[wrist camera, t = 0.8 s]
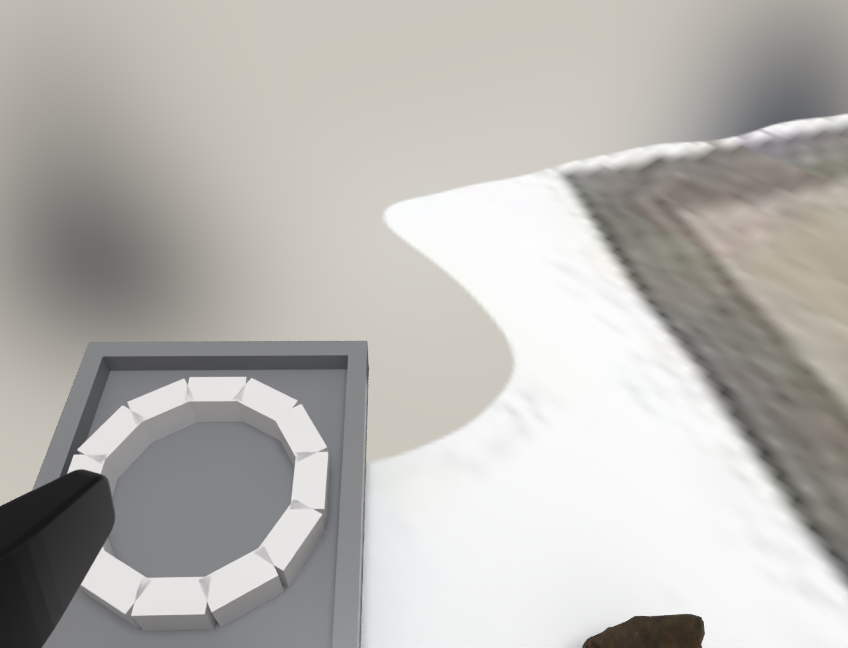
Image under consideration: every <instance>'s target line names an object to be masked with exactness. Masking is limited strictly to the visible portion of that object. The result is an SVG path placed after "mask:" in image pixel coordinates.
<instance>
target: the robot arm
mask: <svg viewBox="0 0 848 648" xmlns="http://www.w3.org/2000/svg"><path fill="white" fill-rule="evenodd" d="M114 523H115V508H114V503H113V498H112V493H111V488H110V483H109V480H108V478H107V477H106V476H105V475H102V474H99V473H95V472H92V471H88V470H83V469H79V470H75V471H72V472H70V473H68V474H66V475H64V476H61V477H59V478H57V479H55V480H53V481H51V482H49V483H47V484H45V485H43V486H41V487H39V488H37V489H35V490H33V491H31V492H29V493H26V494H24V495H22V496H20V497H18V498H16V499H14V500H12V501H10V502H8V503H6V504H4V505H2V506H0V648H42V647H43V646H44V644H45V643H46V641H47V640H48V638H49V637H50V635H51V634H52V632H53V631H54V629H55V628H56V626H57V624H58V623H59V621H60V620H61V618H62V616H63V615H64V613H65V611H66V610H67V608H68V606H69V604H70V603H71V601H72V599H73V597H74V596H75V594H76V592H77V590H78V589H79V587H80V585H81V583H82V582H83V580H84V578H85V577H86V575H87V573H88V571H89V570H90V568H91V566H92V564H93V563H94V561H95V559H96V557H97V556H98V554H99V552H100V550H101V549H102V547H103V545H104V544H105V542H106V540H107V538H108V537H109V535H110V533H111V531H112V529H113V526H114Z"/></svg>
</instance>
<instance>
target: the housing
mask: <svg viewBox="0 0 848 648" xmlns="http://www.w3.org/2000/svg"><path fill="white" fill-rule="evenodd" d="M368 371H369V366H368V347H367V341H246V342H244V341H239V342H238V341H236V342H235V341H222V342H221V341H219V342H89V344H88V346H87V349H86V352H85V354H84V357H83V360H82V362H81V365H80V367H79V370H78V372H77V375H76V378H75V380H74V383H73V386H72V388H71V391H70V393H69V396H68V399H67V402H66V404H65V407H64V409H63V412H62V415H61V417H60V419H59V422H58V425H57V427H56V430H55V433H54V435H53V438H52V440H51V443H50V446H49V448H48V451H47V453H46V456H45V459H44V462H43V464H42V467H41V469H40V472H39V474H38V477H37V480H36V482H35V485H34V487H33V490H35V489H37V488H39V487H41V486H43V485H45V484H47V483H49V482H51V481H53V480H55V479H57V478H59V477H61V476H64V475H66V474H68V473H70V472H72V471H75V470H79V469H83V470H88V471H92V472H95V473H99V474H102V475H105V476H106V477H107V478H108V480H109V483H110V488H111V493H112V498H113V503H114V508H115V523H114V526H113V529H112V531H111V533H110V535H109V537H108V538H107V540H106V542H105V544H104V545H103V547H102V549H101V550H100V552H99V554H98V556H97V557H96V559H95V561H94V563H93V564H92V566H91V568H90V570H89V571H88V573H87V575H86V577H85V578H84V580H83V582H82V583H81V585H80V587H79V589H78V590H77V592H76V594H75V596H74V597H73V599H72V601H71V603H70V604H69V606H68V608H67V610H66V611H65V613H64V615H63V616H62V618H61V620H60V621H59V623H58V624H57V626H56V628H55V629H54V631H53V632H52V634H51V635H50V637H49V638H48V640H47V641H46V643H45V644H44V646H43V647H42V648H360V643H361V609H362V575H363V542H364V508H365V474H366V439H367V406H368V373H369V372H368ZM33 490H32V491H33Z"/></svg>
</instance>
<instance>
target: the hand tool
mask: <svg viewBox="0 0 848 648" xmlns="http://www.w3.org/2000/svg"><path fill="white" fill-rule="evenodd" d="M704 634H705V632H704V622H703V620H702V618H701V617H699V616H695V615H692V614H679V615H664V616H650V617H649V616H634V617H633V618H631V619H629V620H628V621H626V622H624V623H621V624H619V625H616V626H614V627H609V628H607V629H606V630H605V631H604V632H602V633H600V634H597V635H595V636H593V637H590V638H589V639H587V640H586V642H585V643H584V645H583V647H582V648H702V646H701V643H702V640H703V637H704Z"/></svg>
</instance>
